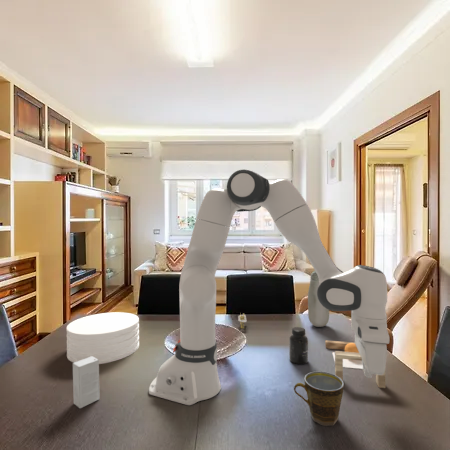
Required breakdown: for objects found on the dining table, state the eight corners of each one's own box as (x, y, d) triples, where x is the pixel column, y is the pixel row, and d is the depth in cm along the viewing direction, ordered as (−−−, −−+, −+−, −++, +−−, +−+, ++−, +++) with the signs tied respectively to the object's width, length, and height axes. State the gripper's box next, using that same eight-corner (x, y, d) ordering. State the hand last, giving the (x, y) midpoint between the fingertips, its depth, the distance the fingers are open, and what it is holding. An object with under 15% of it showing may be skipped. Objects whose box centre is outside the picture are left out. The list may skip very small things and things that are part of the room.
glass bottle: (310, 321, 157) (309, 268, 157) (330, 324, 153) (330, 269, 152) (306, 327, 148) (305, 271, 148) (328, 330, 144) (327, 272, 144)
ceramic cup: (335, 405, 85) (334, 370, 85) (351, 430, 75) (350, 390, 75) (289, 407, 84) (289, 371, 84) (299, 431, 74) (299, 391, 74)
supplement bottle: (308, 365, 109) (308, 332, 109) (289, 364, 110) (289, 331, 110) (307, 357, 116) (307, 326, 115) (289, 356, 117) (289, 325, 117)
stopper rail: (325, 348, 124) (325, 342, 124) (325, 346, 126) (325, 340, 126) (367, 351, 120) (367, 345, 120) (366, 349, 122) (366, 343, 122)
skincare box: (92, 394, 92) (92, 355, 92) (100, 399, 89) (99, 359, 89) (72, 403, 87) (72, 362, 87) (79, 409, 84) (78, 367, 84)
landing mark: (335, 366, 108) (335, 366, 108) (332, 352, 120) (332, 352, 120) (372, 370, 105) (372, 369, 105) (364, 355, 117) (364, 354, 117)
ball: (346, 359, 112) (346, 343, 113) (343, 355, 118) (343, 340, 118) (361, 360, 111) (361, 345, 112) (358, 357, 117) (357, 342, 117)
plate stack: (52, 366, 111) (52, 335, 111) (85, 337, 139) (84, 312, 139) (128, 364, 112) (128, 333, 112) (145, 336, 140) (145, 311, 140)
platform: (230, 334, 142) (230, 320, 142) (230, 321, 160) (230, 309, 160) (255, 334, 141) (255, 320, 141) (253, 321, 159) (252, 309, 159)
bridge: (385, 388, 94) (385, 358, 94) (336, 382, 97) (336, 354, 97) (382, 383, 96) (382, 354, 96) (335, 378, 100) (334, 350, 100)
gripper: (350, 313, 93) (349, 357, 93) (363, 336, 74) (362, 392, 74) (372, 315, 92) (371, 360, 92) (391, 339, 72) (390, 397, 72)
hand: (367, 375), depth 83 cm, fingers closed
